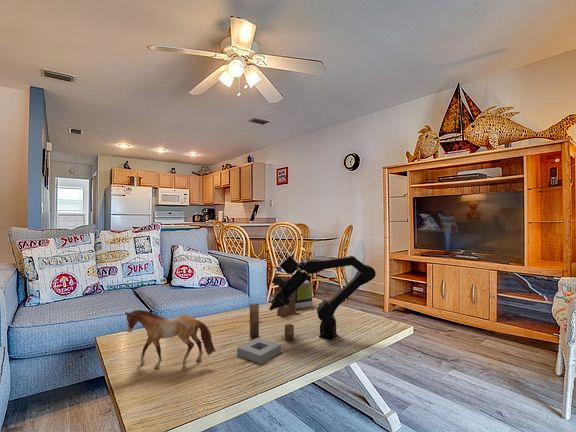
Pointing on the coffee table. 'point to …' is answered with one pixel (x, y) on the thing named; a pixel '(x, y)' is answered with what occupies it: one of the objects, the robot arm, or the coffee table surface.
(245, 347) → the slate collar block
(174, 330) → the horse figurine
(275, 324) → the coffee table surface
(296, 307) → the tea box
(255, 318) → the tall walnut pin
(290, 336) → the short walnut stub
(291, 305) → the wooden block
